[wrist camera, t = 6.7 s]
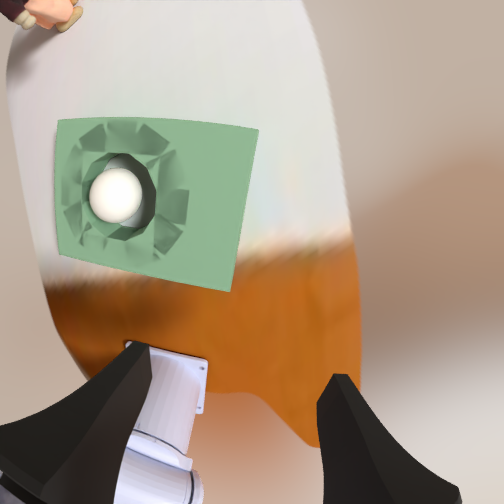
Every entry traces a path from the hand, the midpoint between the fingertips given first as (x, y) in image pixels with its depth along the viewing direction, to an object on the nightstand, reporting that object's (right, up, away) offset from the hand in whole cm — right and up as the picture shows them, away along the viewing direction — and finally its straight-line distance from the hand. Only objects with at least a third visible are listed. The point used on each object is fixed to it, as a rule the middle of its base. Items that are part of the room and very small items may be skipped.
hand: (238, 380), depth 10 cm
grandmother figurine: (-15, +24, +2) cm, 29 cm away
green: (-6, +9, +8) cm, 13 cm away
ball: (-8, +9, +6) cm, 13 cm away
